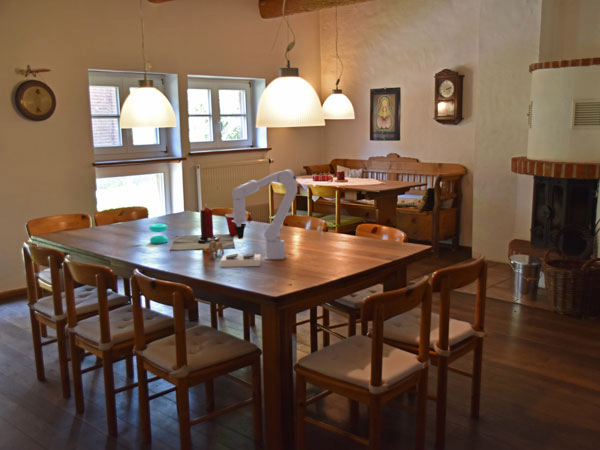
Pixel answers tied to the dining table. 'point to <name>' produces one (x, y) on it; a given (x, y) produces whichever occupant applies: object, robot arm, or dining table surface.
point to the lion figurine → (215, 248)
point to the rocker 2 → (249, 256)
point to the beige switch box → (241, 261)
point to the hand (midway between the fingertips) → (240, 238)
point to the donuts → (159, 238)
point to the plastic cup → (231, 224)
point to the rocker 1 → (231, 256)
